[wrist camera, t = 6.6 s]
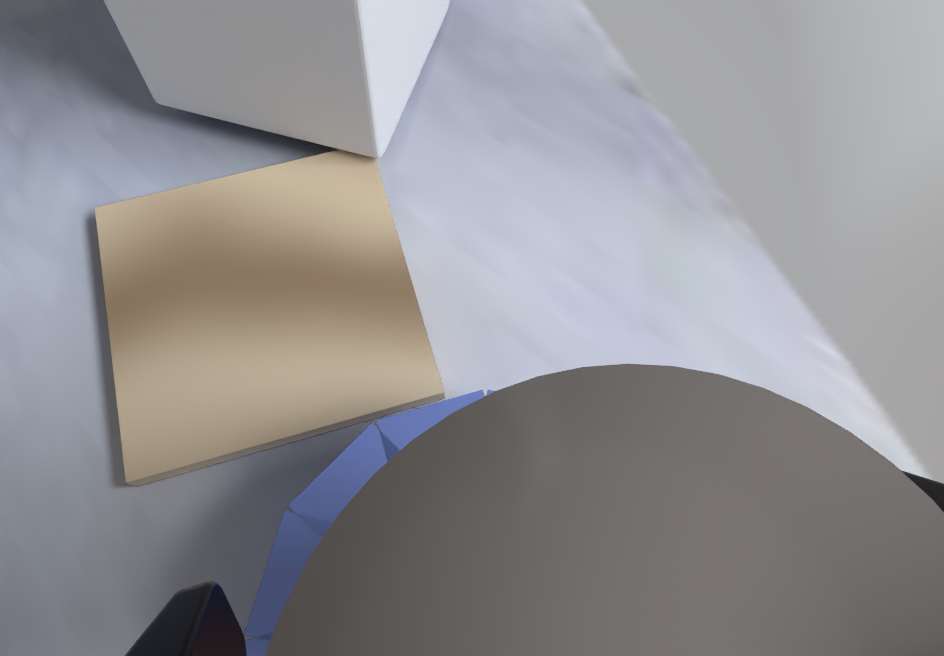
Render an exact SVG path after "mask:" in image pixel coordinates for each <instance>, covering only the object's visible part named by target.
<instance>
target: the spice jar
mask: <svg viewBox="0 0 944 656" xmlns="http://www.w3.org/2000/svg"><path fill="white" fill-rule="evenodd" d="M265 656H944V512H943V511H942V510H941V509H940V508H939V506H938V505H937V504H936V503H935V502H934V501H933V500H932V499H931V498H930V497H929V496H928V495H927V494H926V493H925V492H924V491H923V490H921V489H920V488H919V487H918V486H917V485H916V484H915V483H914V482H913V481H912V480H910V479H909V478H908V477H907V476H906V475H905V474H904V473H903V472H902V471H901V470H899V469H898V468H897V467H896V466H895V465H894V464H893V463H892V462H890V461H889V460H888V459H886V458H885V457H884V456H882V455H881V454H879V453H878V452H877V451H875V450H874V449H873V448H871V447H870V446H869V445H867V444H866V443H864V442H863V441H862V440H860V439H859V438H858V437H856V436H855V435H854V434H852V433H851V432H849V431H847V430H846V429H844V428H842V427H841V426H839V425H837V424H835V423H834V422H832V421H830V420H828V419H827V418H825V417H823V416H822V415H820V414H818V413H816V412H815V411H813V410H811V409H810V408H808V407H805V406H803V405H801V404H799V403H796V402H794V401H792V400H790V399H787V398H785V397H783V396H780V395H778V394H776V393H774V392H771V391H769V390H767V389H764V388H762V387H758V386H755V385H752V384H748V383H745V382H742V381H739V380H735V379H732V378H729V377H726V376H722V375H719V374H714V373H708V372H703V371H697V370H691V369H686V368H680V367H675V366H659V365H640V364H620V365H606V366H593V367H581V368H577V369H572V370H567V371H562V372H557V373H552V374H548V375H543V376H538V377H535V378H532V379H529V380H527V381H524V382H521V383H518V384H515V385H512V386H509V387H506V388H504V389H501V390H498V391H495V392H493V393H491V394H489V395H487V396H485V397H483V398H481V399H479V400H477V401H475V402H473V403H471V404H469V405H467V406H465V407H463V408H461V409H459V410H457V411H455V412H453V413H451V414H450V415H448V416H447V417H445V418H444V419H443V420H441V421H440V422H438V423H437V424H435V425H434V426H432V427H431V428H429V429H428V430H426V431H425V432H423V433H422V434H420V435H419V436H417V437H416V438H415V439H413V440H412V441H411V442H409V443H408V444H407V445H406V446H405V447H404V448H403V449H402V450H400V451H399V452H398V453H397V454H396V455H395V456H394V457H392V458H391V459H390V460H389V461H388V462H387V463H386V464H385V465H383V466H382V467H381V468H380V469H379V470H378V471H377V472H376V473H374V475H373V476H372V477H371V478H370V479H369V480H368V481H367V482H366V484H365V485H364V486H363V487H362V488H361V489H360V490H359V492H358V493H357V494H356V495H355V496H354V497H353V498H352V500H351V501H350V502H349V503H348V504H347V505H346V506H345V508H344V509H343V510H342V511H341V512H340V513H339V515H338V516H337V518H336V519H335V521H334V522H333V524H332V525H331V526H330V528H329V529H328V531H327V532H326V534H325V535H324V537H323V538H322V540H321V541H320V543H319V544H318V546H317V547H316V548H315V550H314V551H313V553H312V554H311V556H310V557H309V559H308V561H307V563H306V565H305V567H304V568H303V570H302V572H301V574H300V576H299V578H298V580H297V582H296V584H295V586H294V588H293V590H292V592H291V594H290V595H289V597H288V599H287V601H286V603H285V605H284V607H283V609H282V611H281V614H280V616H279V619H278V622H277V624H276V627H275V630H274V632H273V635H272V638H271V640H270V643H269V645H268V648H267V651H266V653H265Z"/></svg>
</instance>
